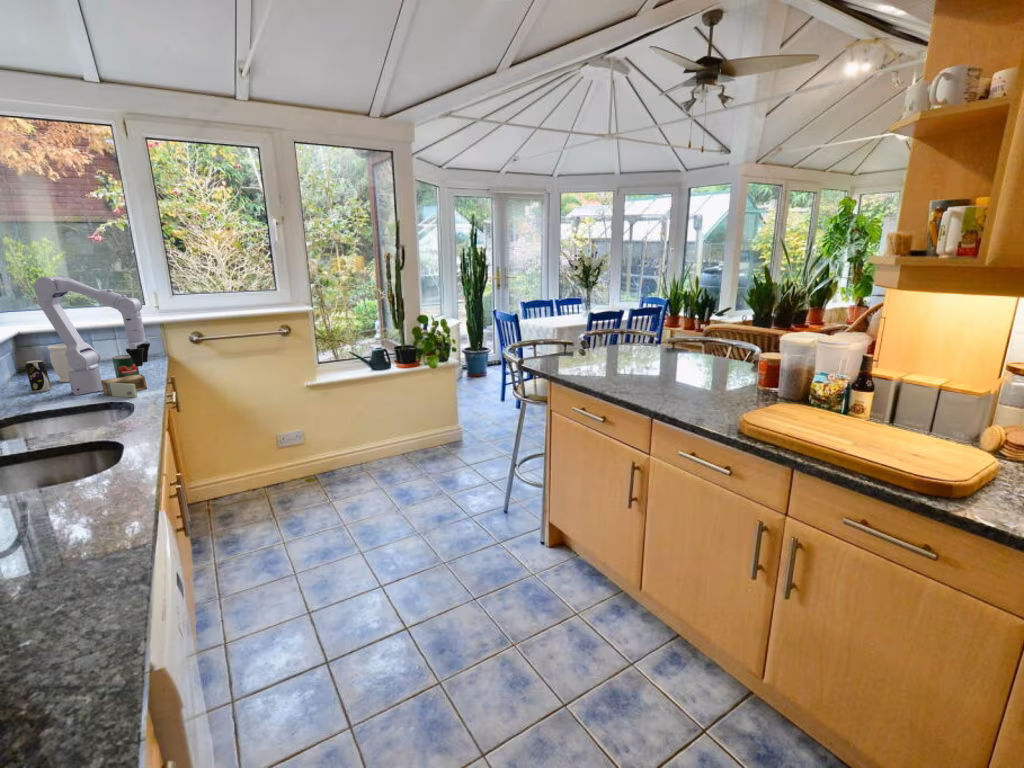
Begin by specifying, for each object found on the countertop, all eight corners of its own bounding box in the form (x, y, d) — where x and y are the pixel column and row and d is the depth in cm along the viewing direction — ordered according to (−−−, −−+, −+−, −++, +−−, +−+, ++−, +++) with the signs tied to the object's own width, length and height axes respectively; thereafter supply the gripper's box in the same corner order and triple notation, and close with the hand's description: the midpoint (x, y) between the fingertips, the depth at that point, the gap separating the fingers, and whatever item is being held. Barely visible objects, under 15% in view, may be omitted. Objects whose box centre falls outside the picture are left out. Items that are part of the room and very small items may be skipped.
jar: (94, 377, 220) (86, 342, 216) (72, 383, 210) (63, 347, 206) (72, 376, 221) (63, 342, 217) (49, 382, 211) (39, 347, 207)
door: (107, 396, 190) (104, 383, 189) (111, 395, 192) (108, 382, 191) (133, 398, 188) (130, 385, 186) (137, 396, 190) (134, 384, 188)
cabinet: (107, 396, 191) (104, 383, 190) (104, 393, 195) (101, 380, 194) (147, 388, 200) (144, 376, 199) (143, 386, 204) (140, 374, 203)
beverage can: (54, 390, 200) (46, 360, 197) (34, 393, 195) (26, 363, 192) (49, 388, 203) (41, 358, 200) (30, 391, 198) (22, 361, 195)
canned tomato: (128, 385, 206) (123, 358, 203) (112, 384, 207) (106, 358, 205) (145, 380, 213) (140, 354, 210) (130, 379, 215) (124, 354, 212)
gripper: (142, 331, 190) (149, 367, 194) (151, 326, 203) (158, 359, 207) (119, 333, 188) (127, 368, 191) (130, 327, 201) (137, 361, 204)
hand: (141, 364), depth 199 cm, fingers open, 7 cm apart
